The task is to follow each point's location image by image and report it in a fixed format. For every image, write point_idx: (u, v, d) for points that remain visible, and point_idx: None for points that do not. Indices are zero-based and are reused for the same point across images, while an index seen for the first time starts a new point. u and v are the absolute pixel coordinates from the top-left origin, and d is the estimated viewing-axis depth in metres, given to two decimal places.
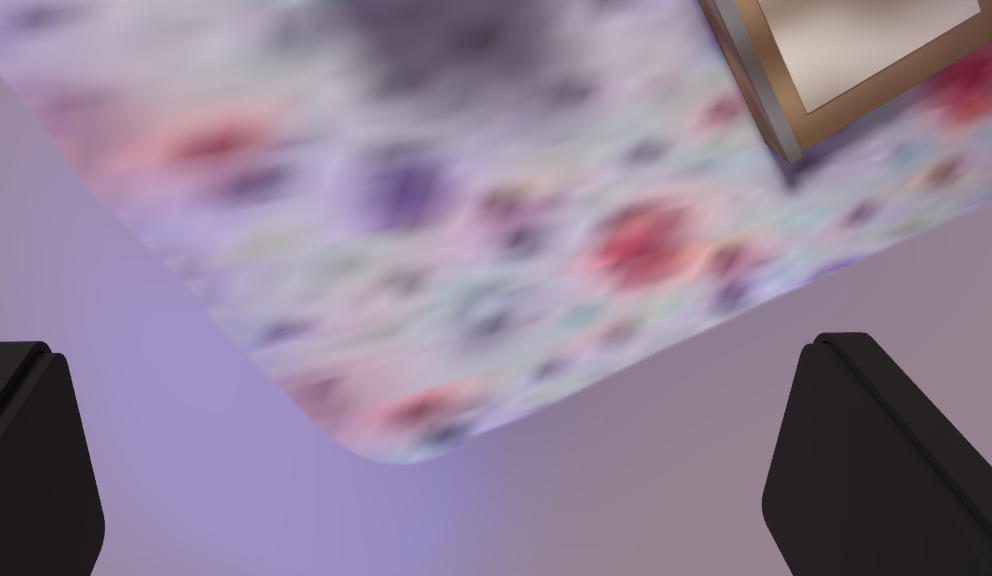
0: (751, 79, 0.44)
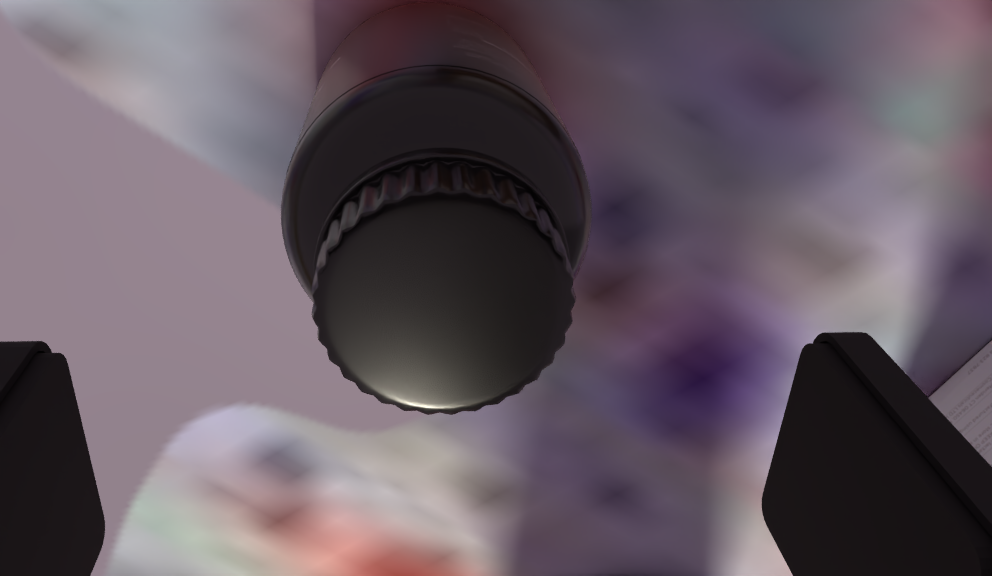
0: None
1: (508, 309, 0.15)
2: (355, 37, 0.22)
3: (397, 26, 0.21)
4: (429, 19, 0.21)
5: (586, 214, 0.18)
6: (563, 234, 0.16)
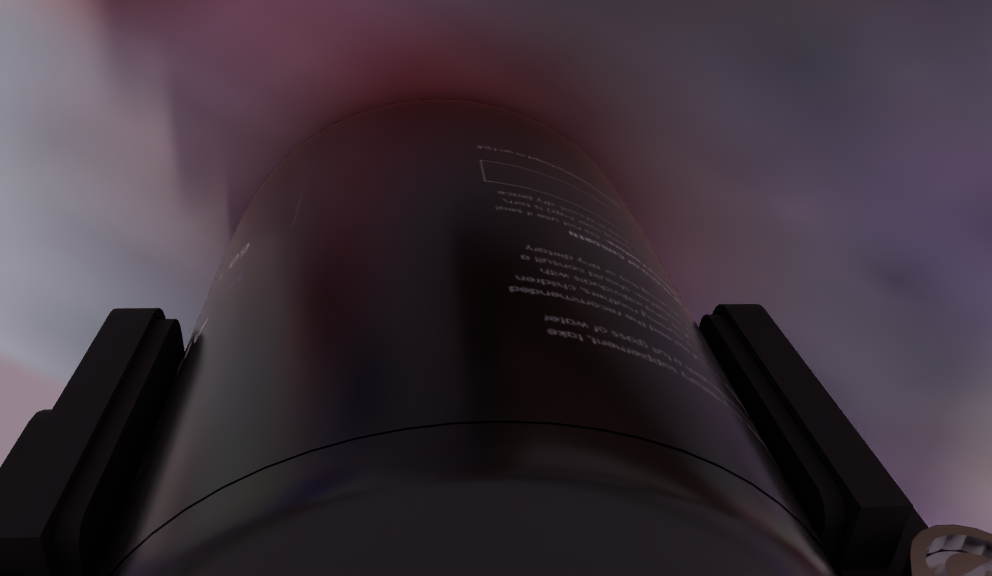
0: None
1: None
2: (287, 188, 0.11)
3: (371, 185, 0.09)
4: (441, 164, 0.10)
5: None
6: None
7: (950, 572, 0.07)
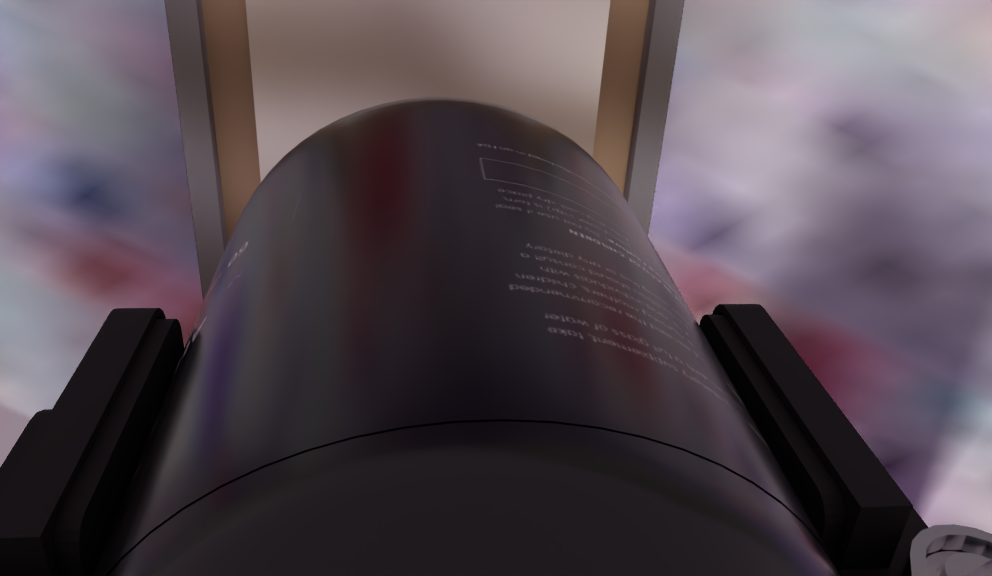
0: (674, 55, 0.24)
1: None
2: (286, 186, 0.10)
3: (371, 183, 0.09)
4: (441, 162, 0.10)
5: None
6: None
7: (949, 572, 0.07)
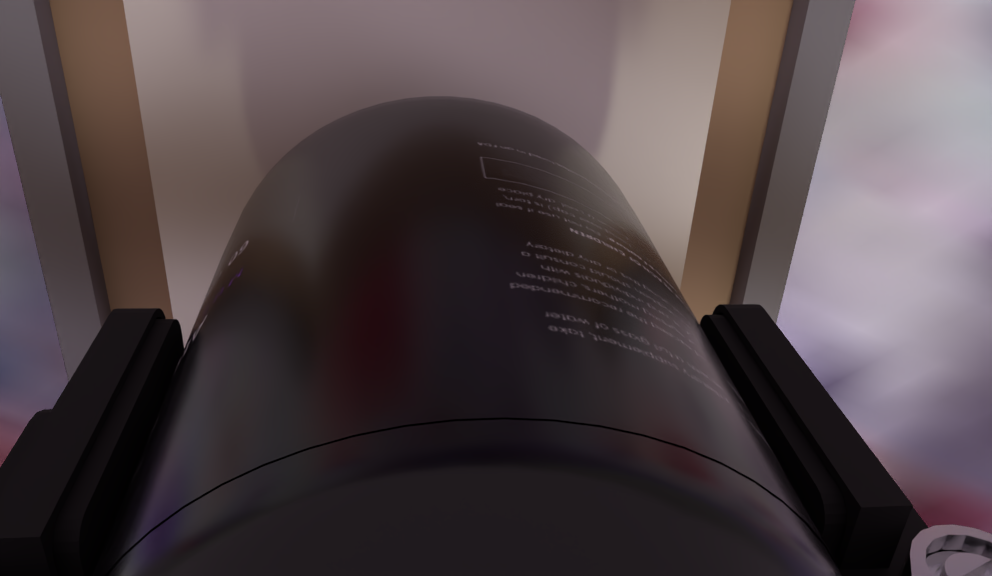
0: (807, 184, 0.16)
1: None
2: (286, 185, 0.10)
3: (371, 182, 0.09)
4: (442, 161, 0.10)
5: None
6: None
7: (950, 572, 0.07)
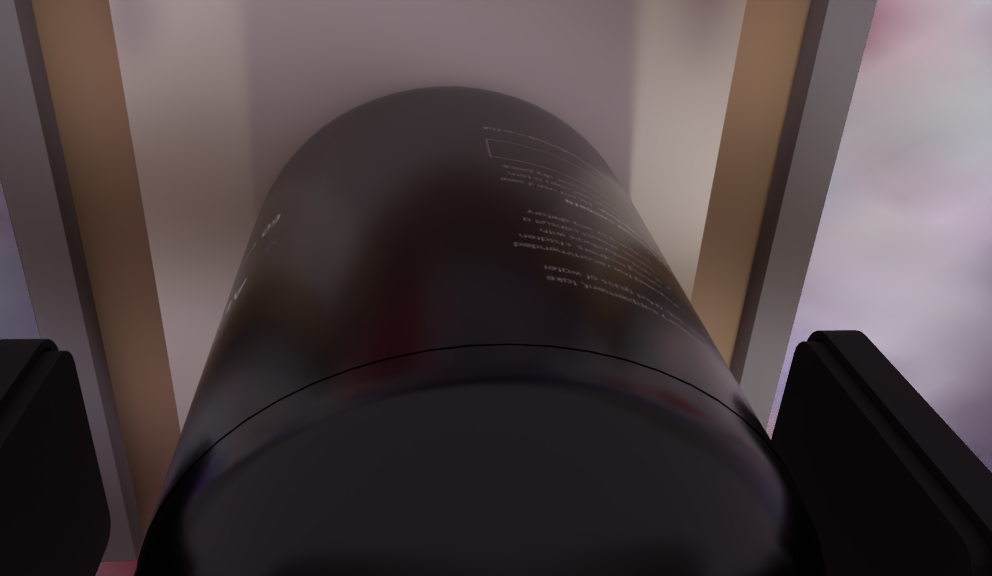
0: (822, 197, 0.15)
1: None
2: (311, 166, 0.12)
3: (390, 161, 0.10)
4: (451, 142, 0.11)
5: None
6: None
7: None
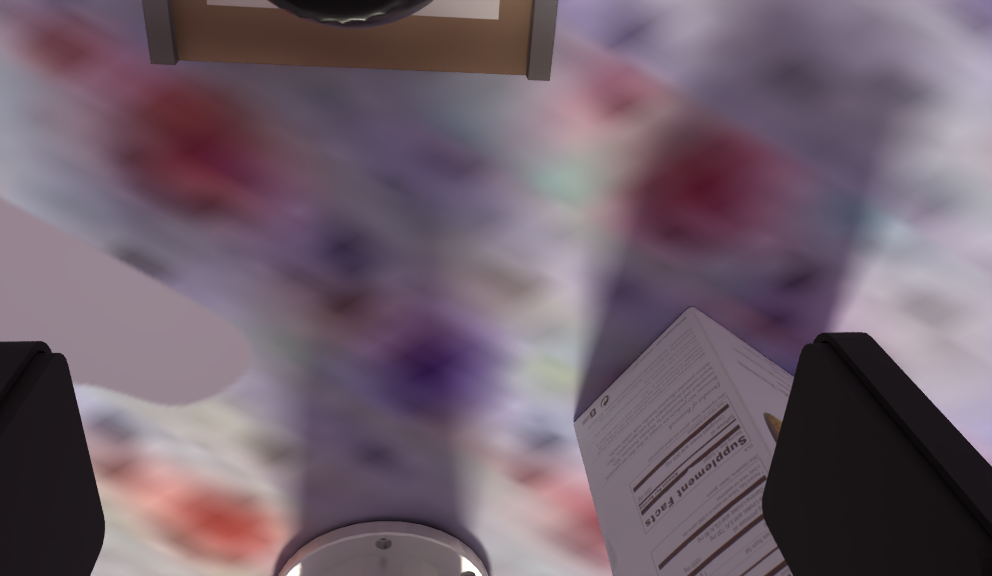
0: None
1: None
2: None
3: None
4: None
5: None
6: None
7: None
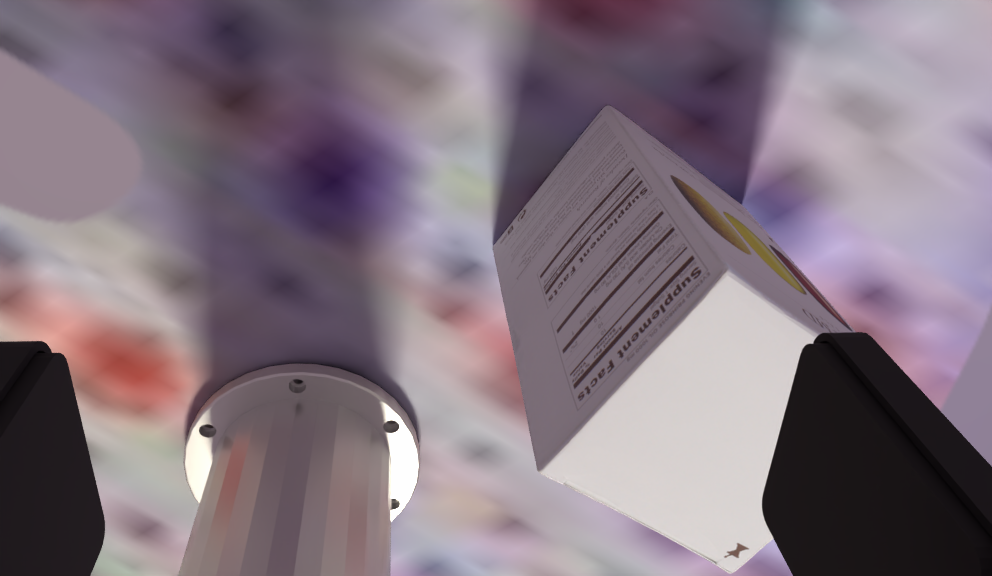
0: None
1: None
2: None
3: None
4: None
5: None
6: None
7: None
